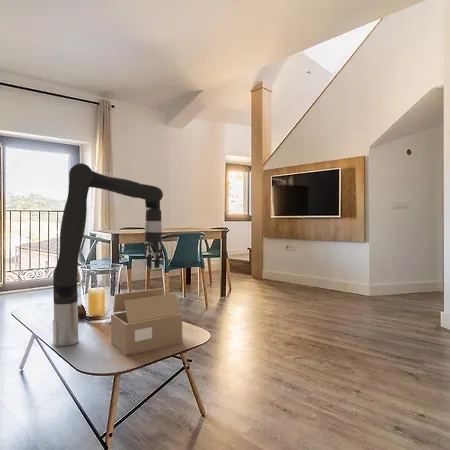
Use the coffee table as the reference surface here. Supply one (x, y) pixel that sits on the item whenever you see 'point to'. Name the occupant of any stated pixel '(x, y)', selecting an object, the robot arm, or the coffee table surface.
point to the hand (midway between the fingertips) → (152, 266)
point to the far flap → (134, 297)
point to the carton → (145, 333)
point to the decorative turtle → (81, 312)
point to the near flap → (151, 307)
